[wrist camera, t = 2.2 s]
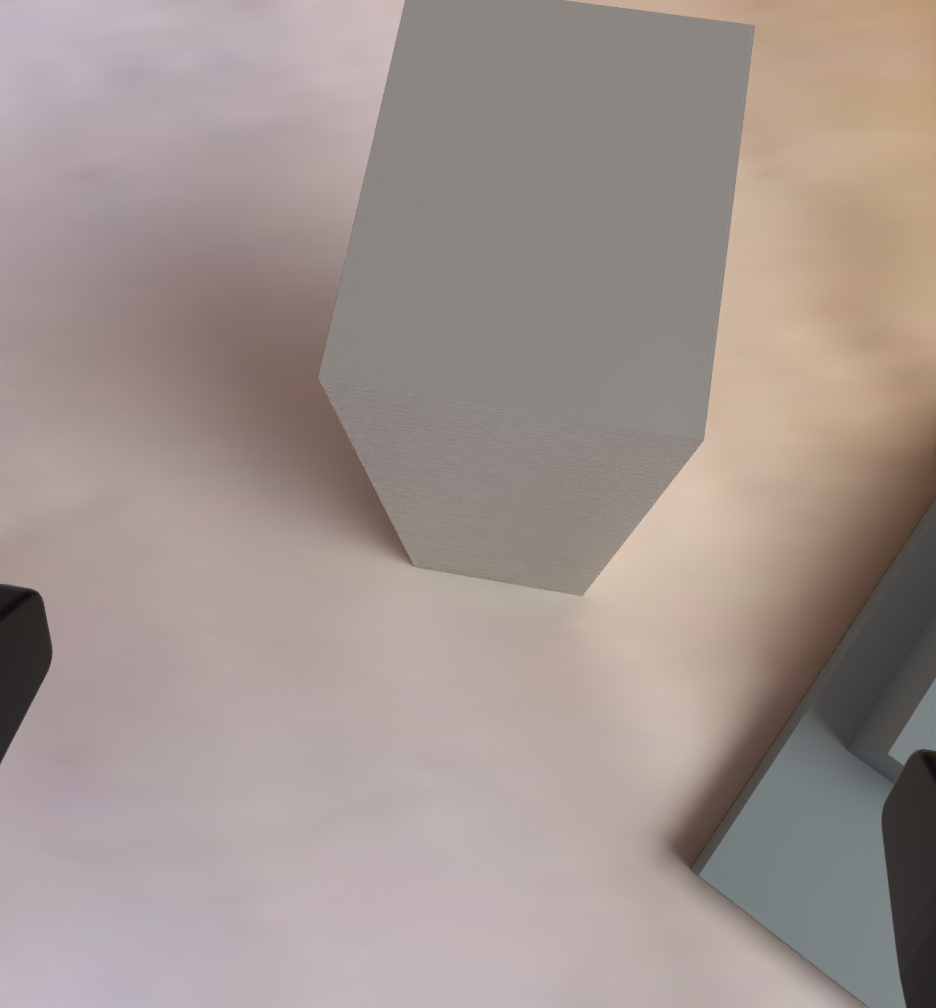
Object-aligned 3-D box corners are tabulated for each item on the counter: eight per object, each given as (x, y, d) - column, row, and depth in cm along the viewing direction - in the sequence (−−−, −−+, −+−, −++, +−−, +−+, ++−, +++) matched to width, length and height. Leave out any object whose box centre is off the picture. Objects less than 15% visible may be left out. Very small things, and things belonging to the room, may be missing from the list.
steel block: (582, 595, 21) (703, 440, 9) (414, 566, 21) (318, 378, 9) (612, 396, 22) (755, 24, 10) (452, 370, 22) (409, -20, 10)
